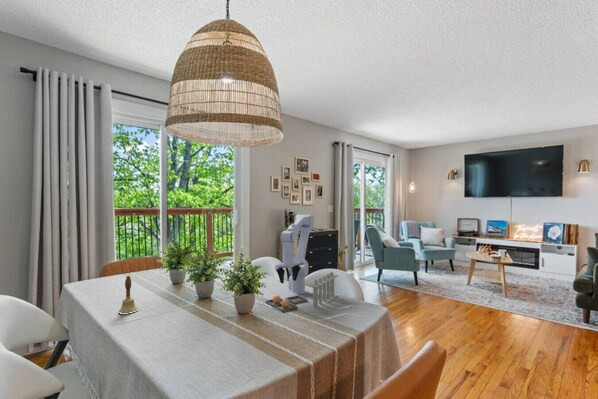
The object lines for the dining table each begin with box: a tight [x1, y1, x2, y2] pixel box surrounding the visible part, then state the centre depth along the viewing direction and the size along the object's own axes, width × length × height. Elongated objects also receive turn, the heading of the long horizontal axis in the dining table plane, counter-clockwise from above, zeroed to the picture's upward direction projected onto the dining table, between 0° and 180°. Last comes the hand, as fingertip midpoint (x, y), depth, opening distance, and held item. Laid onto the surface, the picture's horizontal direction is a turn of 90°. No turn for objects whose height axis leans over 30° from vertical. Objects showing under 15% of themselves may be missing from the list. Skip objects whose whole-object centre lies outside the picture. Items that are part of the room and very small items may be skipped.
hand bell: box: [118, 275, 139, 313], centre depth 141 cm, size 8×8×16 cm
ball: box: [281, 298, 290, 308], centre depth 144 cm, size 4×4×4 cm
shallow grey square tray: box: [284, 294, 308, 305], centre depth 155 cm, size 8×8×2 cm
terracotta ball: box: [272, 294, 282, 304], centre depth 150 cm, size 4×4×4 cm
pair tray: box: [265, 298, 299, 313], centre depth 147 cm, size 16×8×2 cm, turn 35°
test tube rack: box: [308, 271, 339, 311], centre depth 154 cm, size 25×4×13 cm, turn 150°
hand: (288, 281), depth 157 cm, fingers open, 7 cm apart
